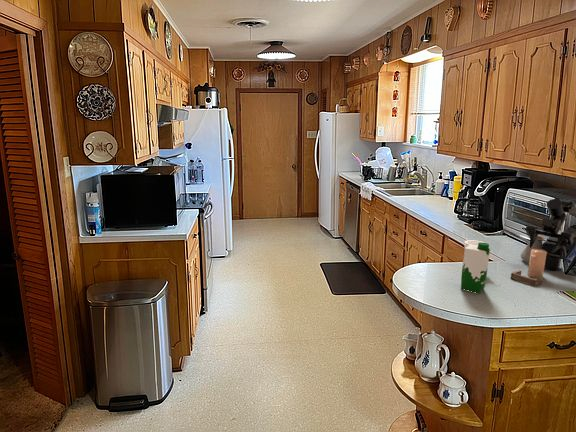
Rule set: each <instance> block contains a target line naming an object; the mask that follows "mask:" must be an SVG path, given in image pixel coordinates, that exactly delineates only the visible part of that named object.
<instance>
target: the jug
mask: <svg viewBox="0 0 576 432" xmlns="http://www.w3.org/2000/svg"><path fill="white" fill-rule="evenodd" d="M546 254H547V251H545V250H542V249H531V255H530V261H529V264H528V269H527V274H526V275H527V276H528V278H532V279H535V278H537V277H539V276H543V277H544V271H545V268H544V266H545V260H546Z"/></svg>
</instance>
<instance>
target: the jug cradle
mask: <svg viewBox="0 0 576 432" xmlns="http://www.w3.org/2000/svg"><path fill="white" fill-rule="evenodd" d="M543 277H544V275H543V276H539V277H537V278H531V277H529V276H528V277H527V276H524V275H522V270H521V269H518V270H515V271H513V272H511V273H510V279H511V280H514V281H517V282H521V283H524V284H527V285H530V286H537V285H539V284H541V283H543Z"/></svg>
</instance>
